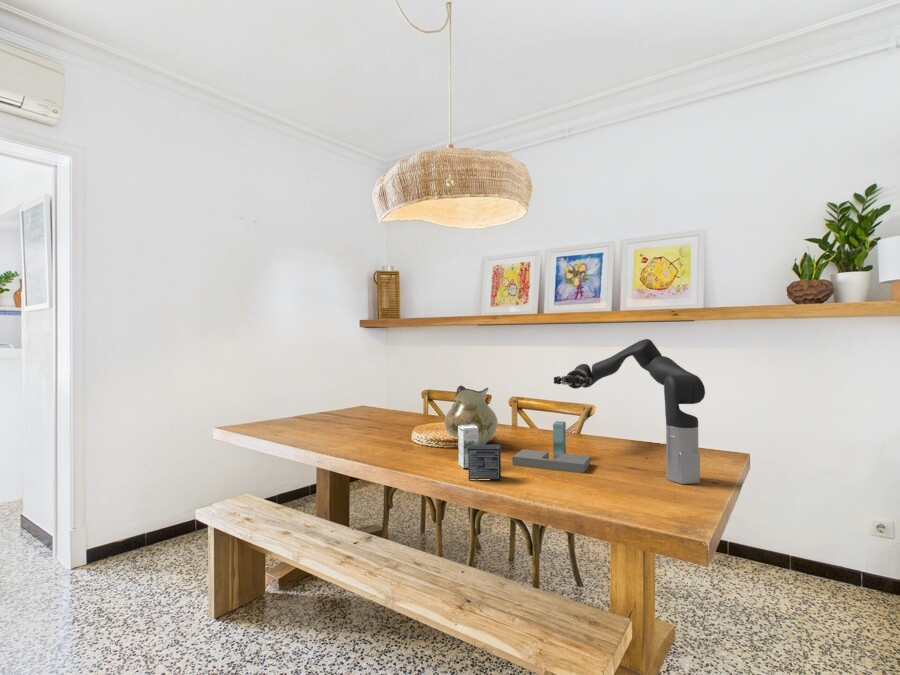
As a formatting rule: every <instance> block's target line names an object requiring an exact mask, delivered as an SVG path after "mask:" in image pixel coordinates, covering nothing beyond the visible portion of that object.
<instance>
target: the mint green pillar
mask: <svg viewBox="0 0 900 675" xmlns="http://www.w3.org/2000/svg"><path fill="white" fill-rule="evenodd" d="M566 428H567V427H566V421H561V420H560V421H559V420H556V421H555V422H553V424H552V437H553V438H552V442H553V443H552V444H553V445H552V446H553V447H552V448H553V449H552V450H553V451H552V452H553V459H557V458H558V457H559V456H560V455H561V454H562V453H564V454H567V439H566V438H567V437H566V436H567V435H566V434H567V429H566Z"/></svg>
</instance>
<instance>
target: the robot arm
mask: <svg viewBox="0 0 900 675" xmlns="http://www.w3.org/2000/svg"><path fill="white" fill-rule="evenodd" d="M629 357H633V358H634V359H635V361H636V362H637V363H638V365H639V366H640V368H642V369H643V370H645V371H647V372H648V373H649V375H650V377H652V379H653V380H654V381H655V382H657V383H658V384H659V385H661V386H663V392H664V393H663V394H664V411H665V413H664V415H665V445H666V446H665V451H666V452H665V454H666V455H665V456H666V460H665V462H666V466H665V467H666V474H665V475H666V479H667V480H668V481H670V482H674V483H677V484H679V485H680V484H681V485H689V484H690V485H691V484H694V485H695V484H701V458H700V457H701V454H700V452H699V419H698V417H696V416H695V415H692V414H690V413H686V412H684V411H682V410H681V408H680V405H696V404H699V403H701V402H702V401H703V400H704V398H705V396H706V388H705V385H704V383H703V381H702V379H701V378H700V377H699V376H698V375H696V374H695V373H694V374H693V373H692V372H690V371H687V370H686V369H685V368H683V367H682V366H680V365H679V364H677V362H675V361H674V360H673V359H671V358H670V357H668V356H664V355H662V354H661V352H660V351H659V349H658V348H657V346H656V344H655V343H654V342H653V341H652V339H648V338H645V339H642V340H641V339H640V340H639V341H637V342H635V343H633V344H631V345H629V346H628V347H626V348H624V349H622V350H621V351H618V352H617V353H615V354H614V355H611V356H610V357H608V358H605V359H602V360H600V361H597V362H595V363H594V364H592V365H591V367H590V365H588V364H587V363H582V364H579V365H577V366H576V367H575V368H574V370H570V372H568V373H567V374H566V375H562V376H559V375H558V376H554V377H553V384H554V385H556V384H557V385H562V386H563V385H565V386H567V385H568V387H570V388H572V389H575V390H576V389H580V388H585V389H586V388H590V387H592V386H594V384H595V383H597V382H598V381H600V380H601V379H603V378H607V377H609V376H611V375H613V374H616V373H617V372H618V371H619V370H620V368H621V366H622V365H623V363H624V362H625V360H626V359H628V358H629Z"/></svg>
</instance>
